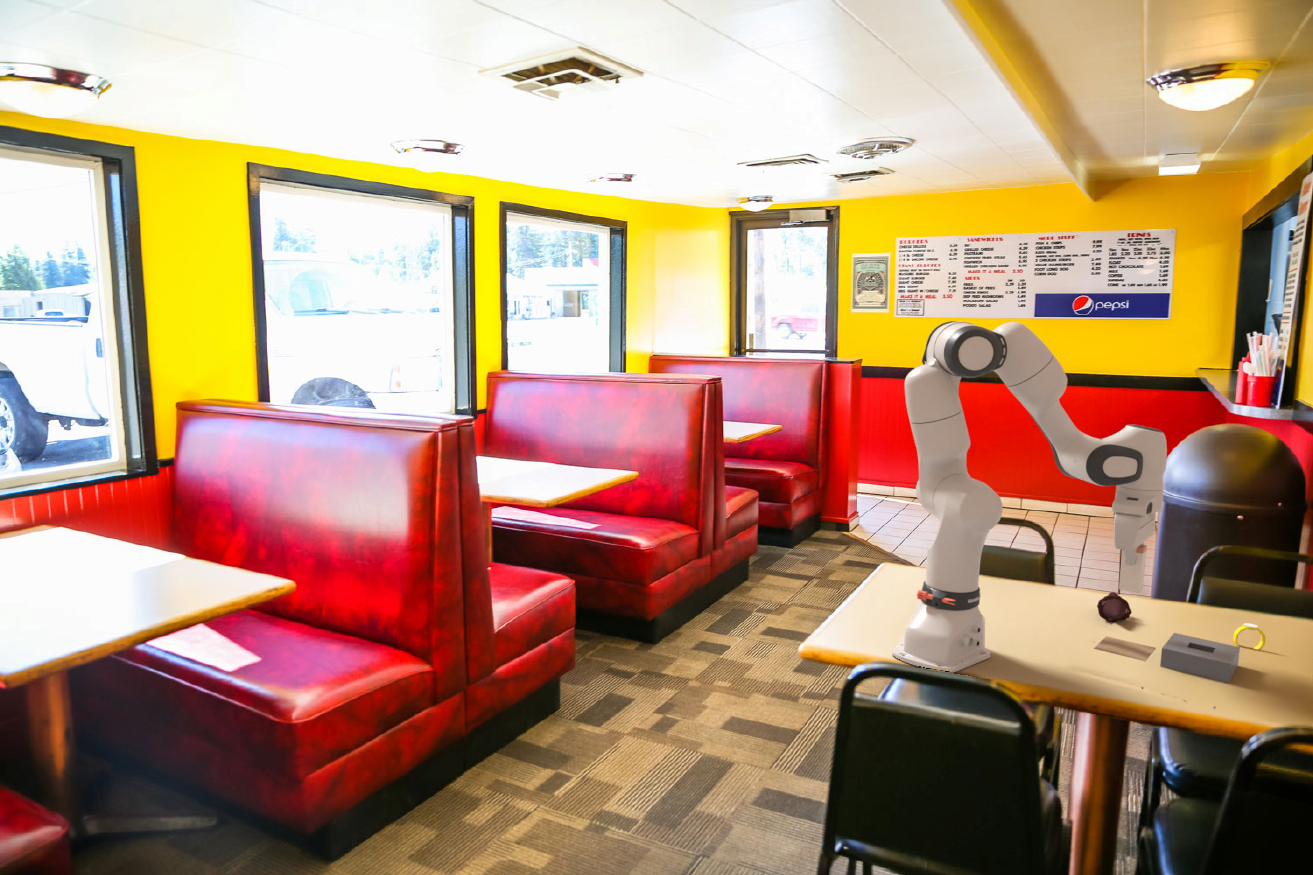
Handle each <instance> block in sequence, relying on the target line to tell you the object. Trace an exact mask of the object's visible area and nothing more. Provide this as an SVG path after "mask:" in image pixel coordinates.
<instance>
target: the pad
mask: <svg viewBox="0 0 1313 875" xmlns="http://www.w3.org/2000/svg"><path fill="white" fill-rule="evenodd" d="M1155 649H1156V647H1154V646H1150V645H1145V644H1141V643H1136V642H1131V641H1128V640H1123V639H1121V638H1120V639H1119V638H1115V637H1111V636H1107V635H1106V636H1105V637H1104V638H1103V639H1101V641H1099V643H1097V644H1096V646H1095V647H1093V650H1098V651H1102V652H1106V653H1111V654H1115V655H1118V656H1122V657H1125V658H1130V659H1131V658H1132V659H1134V660H1139V661H1142V662H1143V661H1144V662H1146V661H1147V659H1148V658H1149V657H1150V656H1151V655H1152V654H1153V652H1154V651H1155Z"/></svg>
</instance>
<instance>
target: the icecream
mask: <svg viewBox="0 0 1313 875" xmlns="http://www.w3.org/2000/svg"><path fill="white" fill-rule="evenodd" d="M1096 608H1097V610H1098V615H1099V616H1100V617H1101V619H1103V620H1105V621H1106V622H1108V623H1112V624H1113V623H1114V624H1115V623H1116V622H1117V620H1121V621H1126V620H1127V619H1129V618H1130V616H1131V614H1132V613H1133V612H1132V609H1131V607H1130V604H1129V602H1128V601H1127V600H1126V599H1124V598H1123V597H1122V596H1121V595H1119V594H1118V593H1117V592H1114V591H1112V592H1109V593H1108V594H1107V595H1105V596H1104V597H1102V598H1101V599H1099V600H1098V603H1097V605H1096Z"/></svg>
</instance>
